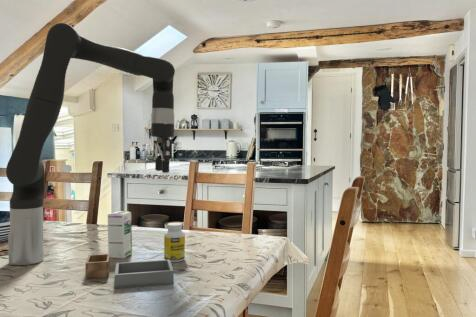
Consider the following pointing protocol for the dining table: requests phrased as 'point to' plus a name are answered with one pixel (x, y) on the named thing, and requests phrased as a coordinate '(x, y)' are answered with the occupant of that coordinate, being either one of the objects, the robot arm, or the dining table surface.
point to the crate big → (143, 273)
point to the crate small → (98, 266)
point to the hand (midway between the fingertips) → (162, 171)
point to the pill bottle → (174, 243)
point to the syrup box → (119, 234)
